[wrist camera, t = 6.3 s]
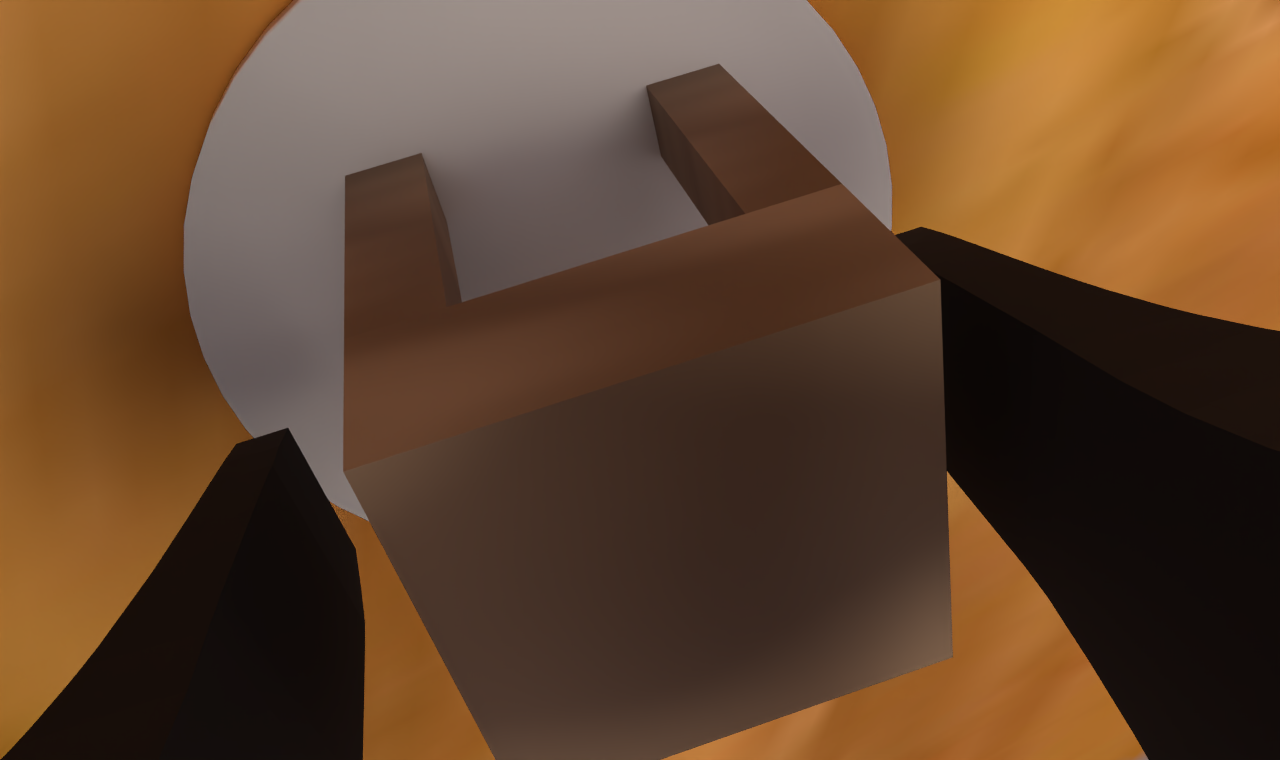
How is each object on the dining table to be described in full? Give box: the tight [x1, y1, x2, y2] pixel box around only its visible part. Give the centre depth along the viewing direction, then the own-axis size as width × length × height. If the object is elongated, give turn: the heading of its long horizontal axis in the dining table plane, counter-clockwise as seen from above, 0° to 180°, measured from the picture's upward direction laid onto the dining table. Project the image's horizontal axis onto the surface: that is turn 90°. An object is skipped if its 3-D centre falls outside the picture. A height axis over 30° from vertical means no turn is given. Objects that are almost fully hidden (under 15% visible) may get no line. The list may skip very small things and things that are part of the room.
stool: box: [343, 64, 953, 760], centre depth 12 cm, size 5×5×6 cm
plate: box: [184, 0, 892, 522], centre depth 14 cm, size 10×10×1 cm
